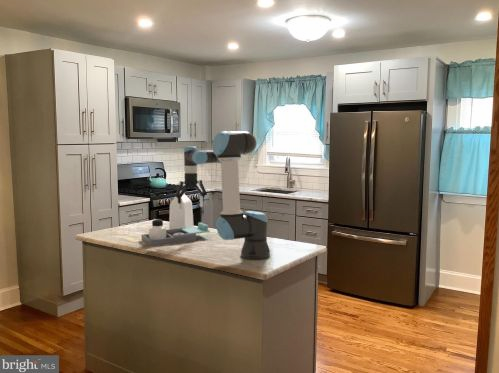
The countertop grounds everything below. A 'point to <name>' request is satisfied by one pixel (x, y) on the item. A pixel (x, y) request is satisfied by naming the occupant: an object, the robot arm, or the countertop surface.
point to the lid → (197, 229)
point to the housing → (170, 237)
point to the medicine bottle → (157, 230)
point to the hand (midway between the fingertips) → (191, 207)
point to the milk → (181, 213)
